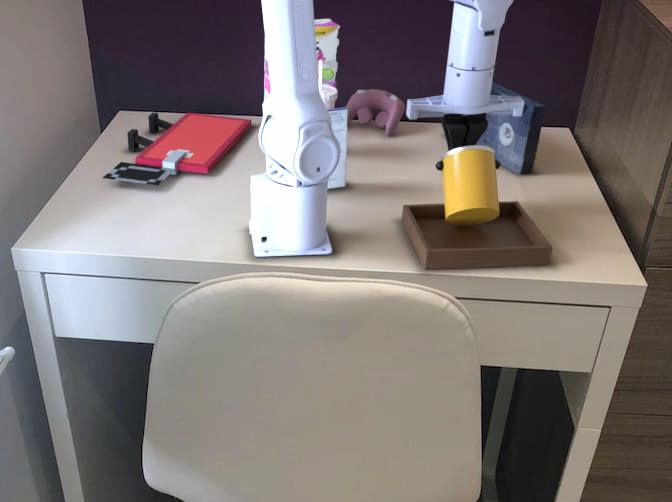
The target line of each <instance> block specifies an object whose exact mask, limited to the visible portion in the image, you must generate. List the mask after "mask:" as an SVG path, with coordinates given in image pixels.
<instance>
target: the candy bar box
mask: <svg viewBox="0 0 672 502" xmlns="http://www.w3.org/2000/svg"><path fill="white" fill-rule="evenodd" d="M314 24H315V38H316V53H317V67H318V82H319V60H323V80H322V84H324V85H329V86H332V87H334V88H336V89H337V82H338V67H339V65H338V64H339V52H340V51H339V50H340V33H341V26H340V24H338V23H337V22H335V21H334V20H332V19H331V18H320V19H319V18H318V19H316V18H314ZM263 59H264V64H263V65H264V68H263V70H264V72H263V73H264V75H263V76H264V78H263V102H264V101H265V100H266V99H267V98H269V97H270V95H271V86H270V76H269V67H268V57H267V48H266V38H265V37H264V56H263ZM335 108H336V104H335V105H334V109H335Z"/></svg>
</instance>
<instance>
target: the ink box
mask: <svg viewBox="0 0 672 502" xmlns="http://www.w3.org/2000/svg"><path fill="white" fill-rule="evenodd" d="M327 110H328V112H329V114H330V117H331V125H332V130H333V133H334V135H335V136H336V138H337V140H338V142H339V144H340V151H341V153H340V159H339V163H338V165H337V167H336V169H335V170H334V172H333V173H332V174H331V175H330V176H329V181H328V190H331V189H339V188H345V187H346V185H347V184H346V183H347V159H348V158H347V157H348V137H349V124H348V107H346V106H344V107H335V109H327ZM265 168H266V169H265V170H266V171H265V172H268V156H267V155H266V154H265Z"/></svg>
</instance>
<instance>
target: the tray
mask: <svg viewBox="0 0 672 502" xmlns="http://www.w3.org/2000/svg"><path fill="white" fill-rule="evenodd" d="M499 210H500V214H499V216H498V217H497V218H495V219H493V220H491V221H488V222H485V223H481V224H476V225H453V224H449V223H448V222H447V221H446V218H445V205H444V203H423V204H422V203H421V204H403V205H402V213H401V214H402V215H401V223H402V225H403V227H404V229H405V232H406V233H407V236H408V237H409V238H408V239H409V240H410V242H411V244H412V246H413V248H414V250H415V252H416V254H417V256H418V259H419V260H420V263H421V265H422V267H423V269H424V270H449V269H450V270H451V269H452V270H453V269H476V268H477V269H478V268H504V267H507V268H508V267H527V266H529V267H530V266H531V267H532V266H533V267H534V266H549V265H550V264H551V263H550V262H551V258H552V254H553V248H554V246H553V245H552V244H551V243H550V242H549V240H548V238H546V236H545V235H544V234H543V232H542V230H541V229H540V228H539V227H538V226H537V225H536V223H535V221H533V220H532V218H531V217H530V215H529V214H528V213H527V212H526V210H525V209H524V208H523V206H522V205H521V203H519V201H517V200H516V201H515V200H514V201H499Z"/></svg>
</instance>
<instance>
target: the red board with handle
mask: <svg viewBox="0 0 672 502" xmlns="http://www.w3.org/2000/svg"><path fill="white" fill-rule="evenodd" d="M251 127H252V119H249V118H240V117H239V118H238V117H231V116H223V115H213V114H204V113H197V112H186V113H185V114H184V115H183V116H182V117H181V118H179V120H177V121H176V122H175V123H171V122H168V121H166V120H164V119H161V118H159V112H152V113H150V114H149V115H148V130H149V131H148V132H149V134H154V135H155V134H156V133H158V132H159V131H160V128H161V129H163V130H166V131H164V132H163V133H162V134H161V135H159V136H158V138H156V139H155V140H151V139H149V138H147V137H144V136H142V135H139V130H138V129H136V128H131V129H130V130H129V131H128V132H126V133H127V146H128V147H127V148H128V151H130V152H135V151H137V150H138V149H139V148H140V146H142V147H145V148H144V150H143V151H142V152H140V153H139V154H138V155H137V156H136V157H135V158H134V162H135V163H134V162H133V163H132V162H124V161H121V162H119V163H118V164H116V165H115V166H114V167H113V168H112V169H111V170H110V171H108V172H107V173H106V174H105V175H104V176H103V177H102V179H106V180H113V181H121V182H127V183H128V182H130V183H136V184H144V185H149V186H157V187H158V186H159V185H161V183H162V182H164V180H166V179H167V178H168V177H169V175H171V176H176V175H177V174H178V173H179V172H180V171H183V172H184V171H185V172H191V173H198V174H199V173H200V174H209V173H210V172H211V171H212V169H214V167H216V165H217V164H218V163H219V162H220V161H221V160H222V159H223V158H224V156H225V155H226V154H227V153H228V152H229V151H230V150H231V148H233V146H235V144H237V142H238V141H239V140H240V139H241V138H242V137H243V136H244V134H245V133H247V131H248V130H249V128H251Z"/></svg>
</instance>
